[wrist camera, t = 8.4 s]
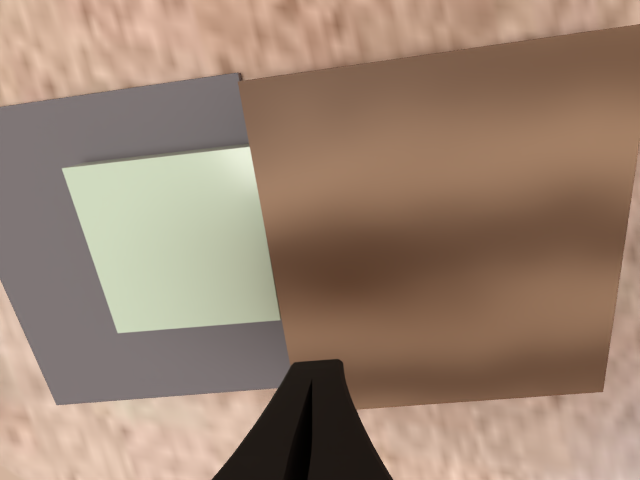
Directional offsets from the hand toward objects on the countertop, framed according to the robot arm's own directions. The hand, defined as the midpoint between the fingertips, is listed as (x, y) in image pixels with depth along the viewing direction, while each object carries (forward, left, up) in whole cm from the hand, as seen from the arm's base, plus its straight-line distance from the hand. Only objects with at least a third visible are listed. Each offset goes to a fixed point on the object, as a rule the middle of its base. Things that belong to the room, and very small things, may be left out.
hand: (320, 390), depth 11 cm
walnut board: (+1, -5, -9) cm, 10 cm away
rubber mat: (+1, +10, -9) cm, 13 cm away
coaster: (+2, +6, -9) cm, 11 cm away
